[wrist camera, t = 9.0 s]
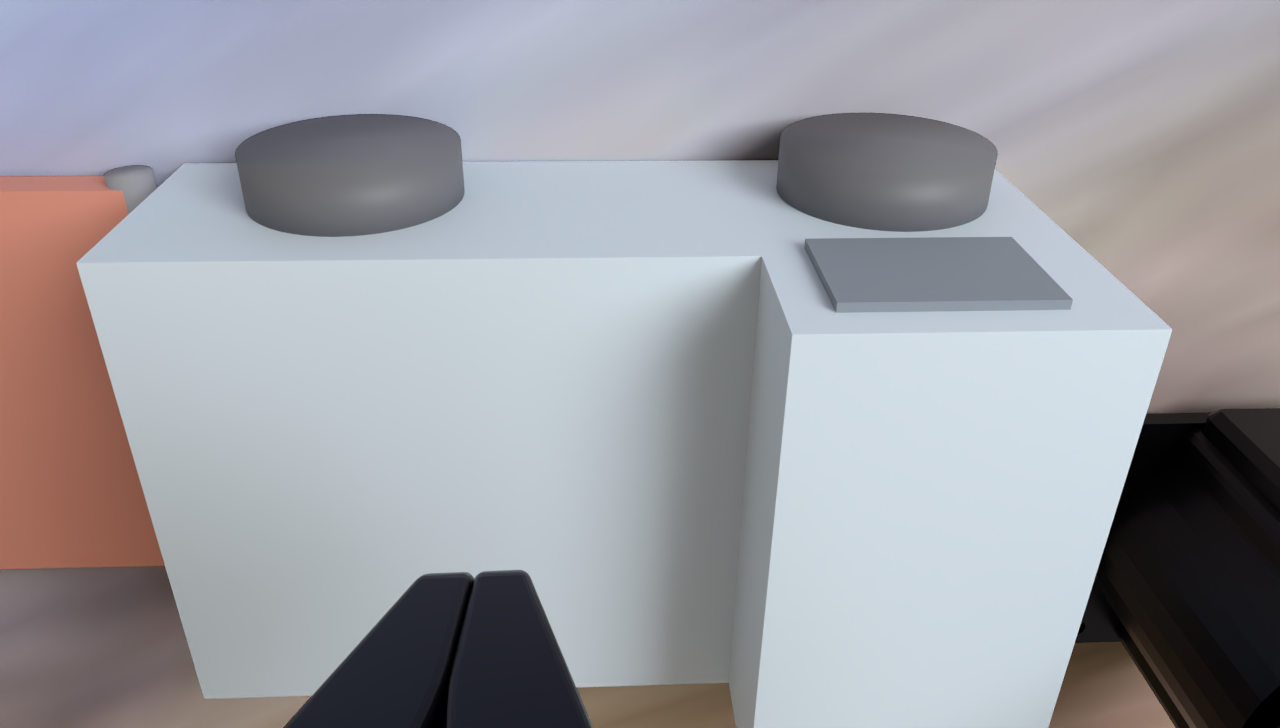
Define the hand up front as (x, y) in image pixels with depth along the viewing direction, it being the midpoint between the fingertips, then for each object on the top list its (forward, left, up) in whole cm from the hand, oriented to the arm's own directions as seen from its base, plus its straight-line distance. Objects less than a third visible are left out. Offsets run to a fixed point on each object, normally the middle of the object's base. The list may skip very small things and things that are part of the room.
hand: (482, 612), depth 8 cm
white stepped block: (-5, -1, -12) cm, 13 cm away
